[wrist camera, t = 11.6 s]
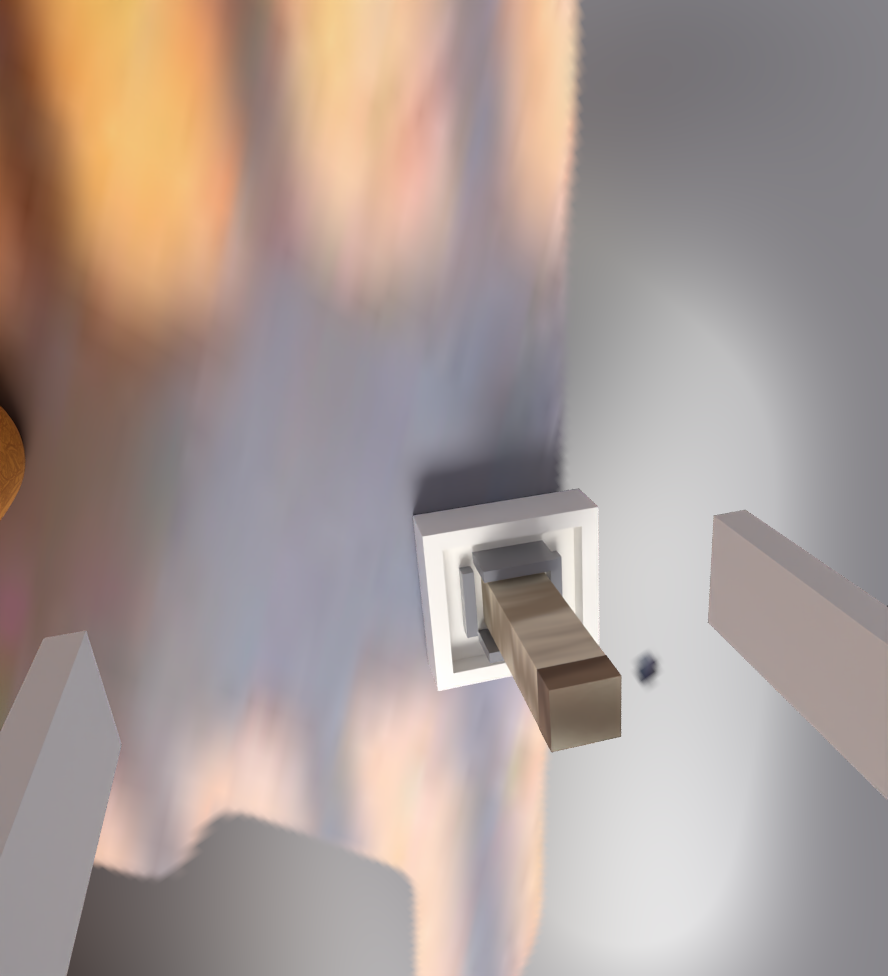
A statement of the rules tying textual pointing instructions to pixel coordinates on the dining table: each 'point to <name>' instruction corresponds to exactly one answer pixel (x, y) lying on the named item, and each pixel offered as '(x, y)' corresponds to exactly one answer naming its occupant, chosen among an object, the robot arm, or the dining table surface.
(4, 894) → the robot arm
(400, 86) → the dining table surface
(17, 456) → the wine bottle
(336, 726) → the dining table surface
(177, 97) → the dining table surface
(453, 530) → the white square frame
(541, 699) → the wood grain beam
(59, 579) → the dining table surface
